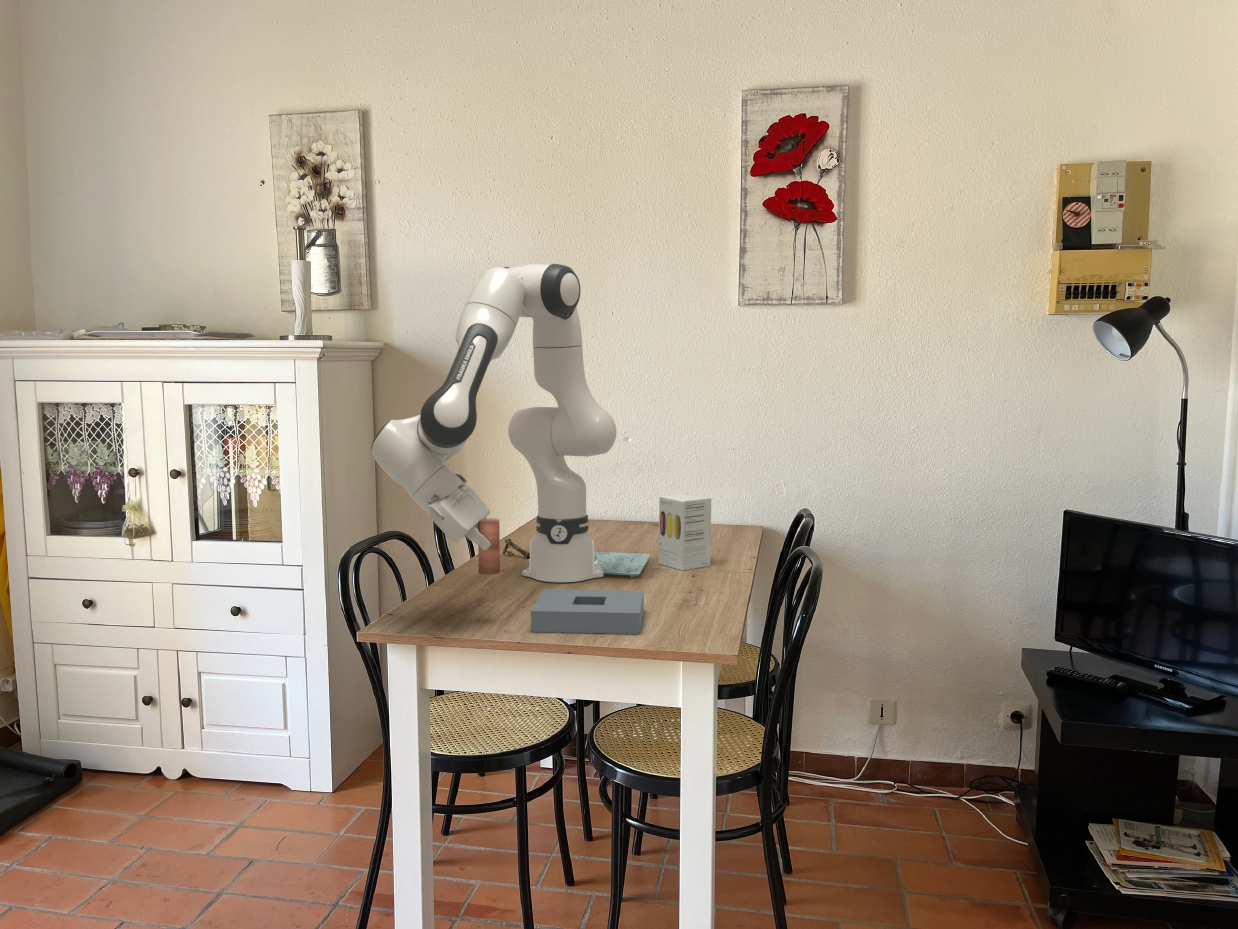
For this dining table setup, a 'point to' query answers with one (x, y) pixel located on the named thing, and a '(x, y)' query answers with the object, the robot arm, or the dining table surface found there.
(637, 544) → the dining table surface
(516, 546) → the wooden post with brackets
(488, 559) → the pin
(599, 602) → the socket block
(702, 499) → the supplement box
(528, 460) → the robot arm
